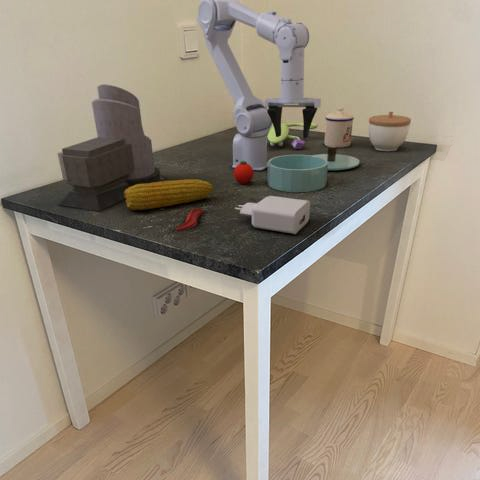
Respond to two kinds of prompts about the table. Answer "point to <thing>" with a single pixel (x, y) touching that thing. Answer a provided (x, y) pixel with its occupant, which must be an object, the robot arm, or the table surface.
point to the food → (166, 193)
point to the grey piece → (109, 154)
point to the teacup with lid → (338, 128)
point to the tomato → (243, 172)
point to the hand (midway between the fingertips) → (291, 136)
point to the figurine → (297, 141)
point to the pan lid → (338, 160)
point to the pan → (297, 173)
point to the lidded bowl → (388, 131)
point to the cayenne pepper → (191, 219)
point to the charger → (277, 214)
